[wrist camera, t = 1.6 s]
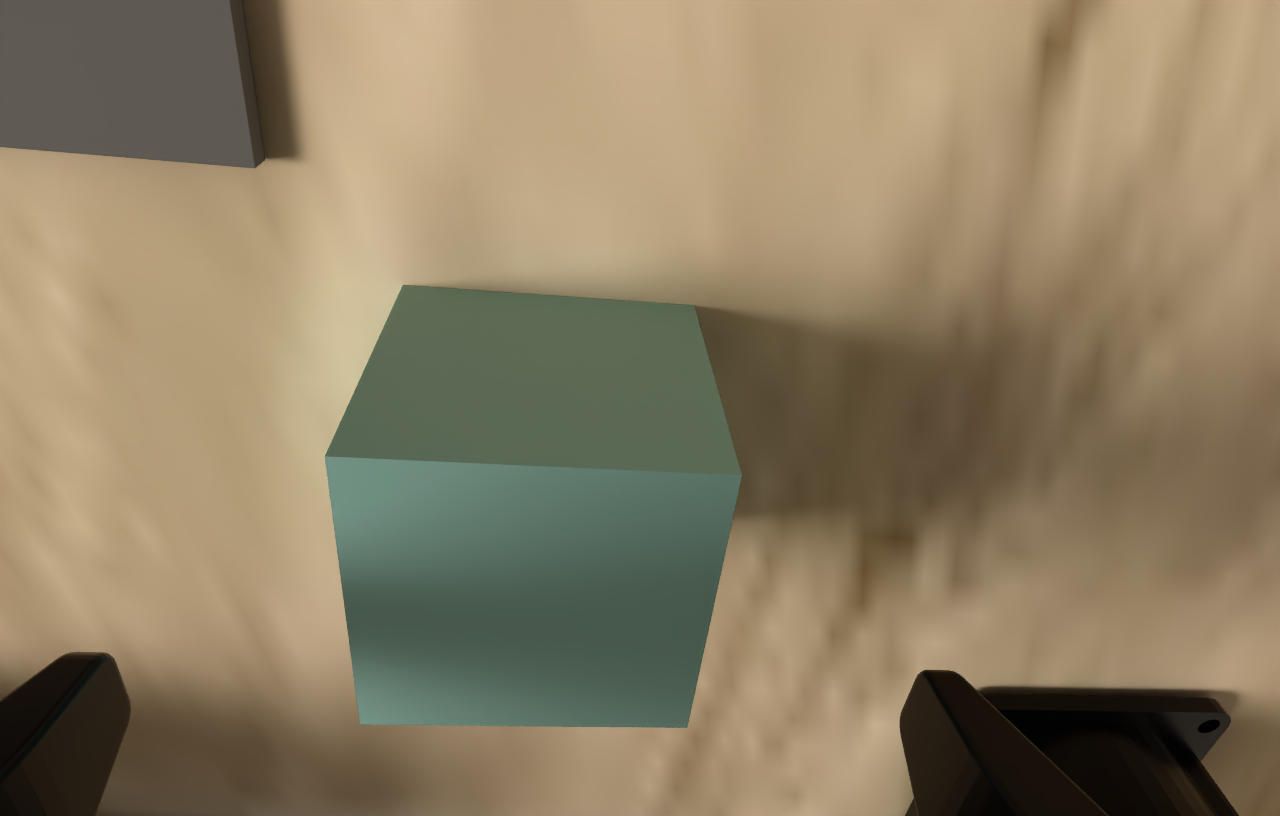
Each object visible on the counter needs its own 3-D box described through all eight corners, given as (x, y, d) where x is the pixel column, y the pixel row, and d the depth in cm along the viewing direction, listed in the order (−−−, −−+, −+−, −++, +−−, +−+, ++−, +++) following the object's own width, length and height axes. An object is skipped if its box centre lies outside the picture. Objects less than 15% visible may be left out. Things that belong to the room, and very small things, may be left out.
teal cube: (693, 303, 13) (742, 476, 9) (660, 519, 15) (687, 727, 11) (404, 283, 12) (325, 456, 8) (416, 509, 15) (359, 724, 11)
